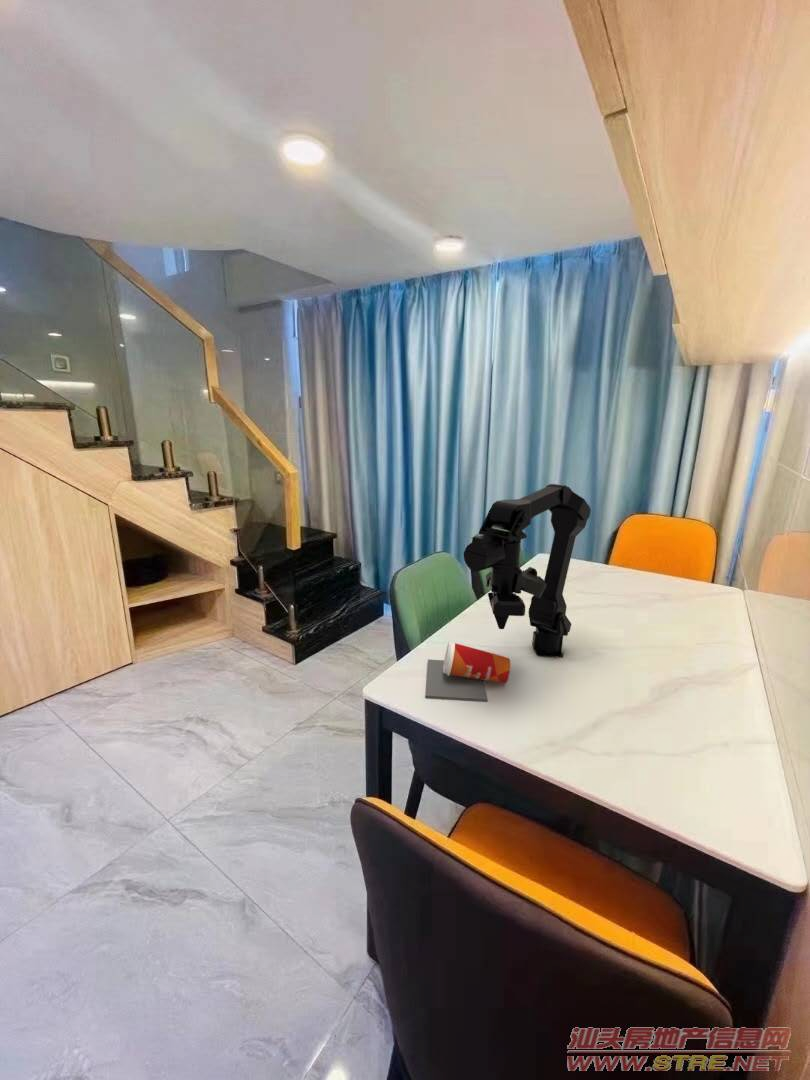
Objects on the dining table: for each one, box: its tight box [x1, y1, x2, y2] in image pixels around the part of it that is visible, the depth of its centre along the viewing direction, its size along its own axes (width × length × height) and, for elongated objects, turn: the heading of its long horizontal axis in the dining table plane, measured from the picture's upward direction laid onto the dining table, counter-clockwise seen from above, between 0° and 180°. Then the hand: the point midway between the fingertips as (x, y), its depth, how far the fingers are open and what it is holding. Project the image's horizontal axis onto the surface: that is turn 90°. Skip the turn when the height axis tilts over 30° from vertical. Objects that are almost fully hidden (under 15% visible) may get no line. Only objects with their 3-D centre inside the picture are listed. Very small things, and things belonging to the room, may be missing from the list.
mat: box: [425, 659, 488, 703], centre depth 100 cm, size 13×15×1 cm
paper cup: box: [443, 641, 511, 684], centre depth 99 cm, size 8×8×14 cm
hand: (501, 628), depth 97 cm, fingers closed
